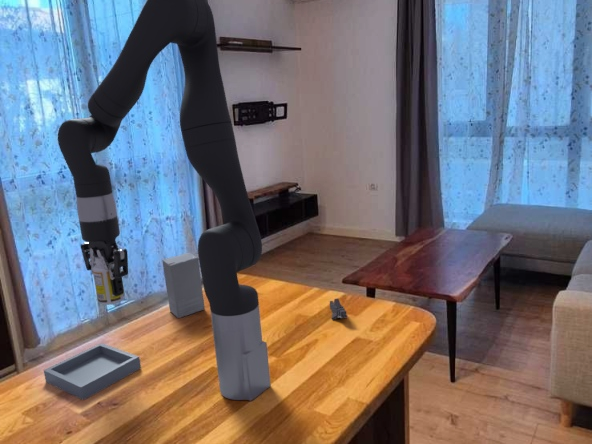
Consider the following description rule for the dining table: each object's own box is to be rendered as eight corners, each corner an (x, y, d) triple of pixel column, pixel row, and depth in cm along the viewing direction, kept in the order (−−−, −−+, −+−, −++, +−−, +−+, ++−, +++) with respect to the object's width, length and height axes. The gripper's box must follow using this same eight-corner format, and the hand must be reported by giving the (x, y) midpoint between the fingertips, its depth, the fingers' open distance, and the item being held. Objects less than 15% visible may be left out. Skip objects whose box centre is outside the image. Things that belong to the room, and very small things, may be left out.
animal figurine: (324, 314, 136) (322, 295, 136) (340, 312, 137) (338, 293, 137) (336, 325, 125) (334, 304, 124) (354, 322, 125) (351, 301, 125)
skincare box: (196, 303, 147) (189, 251, 143) (206, 311, 141) (200, 256, 138) (168, 312, 142) (160, 257, 139) (177, 320, 137) (169, 263, 133)
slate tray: (141, 368, 112) (139, 356, 112) (83, 400, 101) (80, 387, 101) (103, 353, 120) (101, 342, 120) (45, 382, 109) (43, 370, 109)
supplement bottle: (128, 294, 114) (121, 250, 111) (121, 304, 108) (114, 258, 106) (102, 297, 113) (95, 252, 111) (94, 306, 108) (87, 260, 106)
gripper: (134, 215, 105) (145, 292, 109) (95, 209, 113) (106, 281, 117) (101, 223, 99) (114, 304, 103) (62, 216, 108) (75, 292, 112)
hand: (110, 291), depth 110 cm, fingers closed on supplement bottle, 5 cm apart
